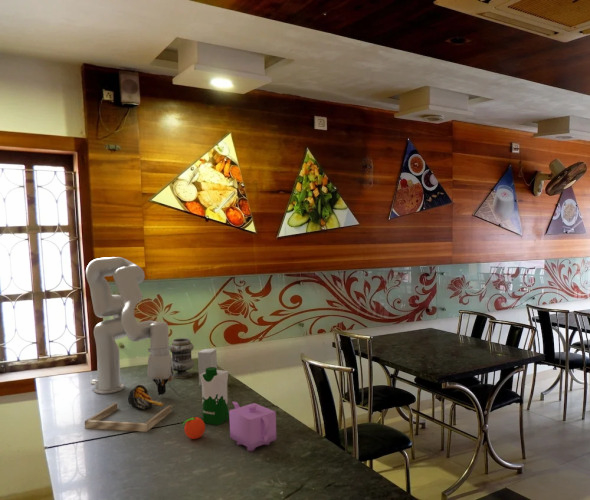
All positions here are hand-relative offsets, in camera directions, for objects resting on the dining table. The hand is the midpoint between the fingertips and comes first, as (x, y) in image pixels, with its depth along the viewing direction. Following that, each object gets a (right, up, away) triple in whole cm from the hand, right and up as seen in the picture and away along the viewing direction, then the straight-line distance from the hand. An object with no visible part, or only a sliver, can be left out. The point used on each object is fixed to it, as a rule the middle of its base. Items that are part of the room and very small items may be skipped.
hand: (161, 393), depth 205 cm
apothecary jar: (+1, -1, +33) cm, 33 cm away
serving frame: (-5, -2, -24) cm, 25 cm away
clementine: (+23, -2, -43) cm, 49 cm away
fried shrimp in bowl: (-3, -2, -13) cm, 13 cm away
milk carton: (+28, -2, -28) cm, 39 cm away
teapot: (+42, -2, -47) cm, 63 cm away
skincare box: (+17, -1, +18) cm, 25 cm away
